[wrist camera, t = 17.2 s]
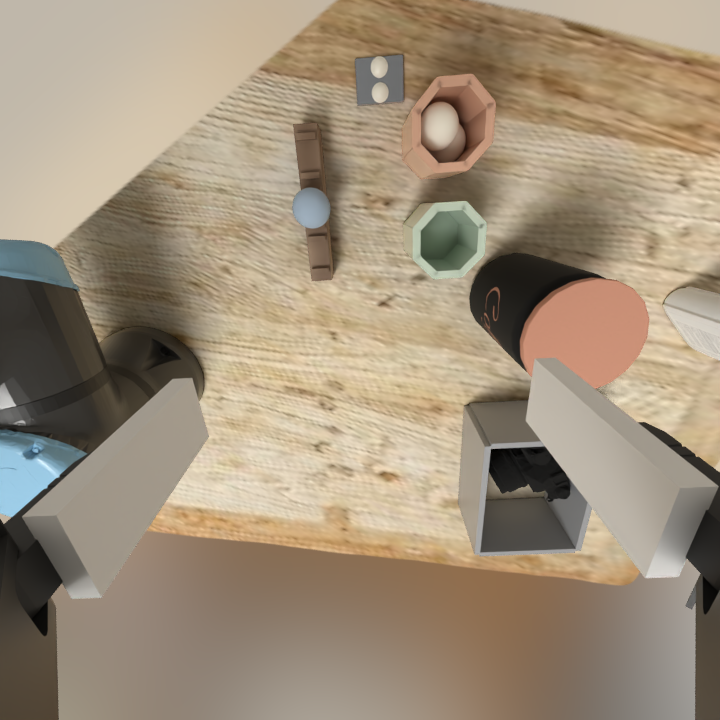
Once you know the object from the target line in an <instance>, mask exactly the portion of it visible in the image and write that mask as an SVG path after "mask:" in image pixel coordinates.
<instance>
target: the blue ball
mask: <svg viewBox="0 0 720 720" xmlns="http://www.w3.org/2000/svg"><path fill="white" fill-rule="evenodd" d="M292 208H293V214H294V216H295V218H296V220H297V221H298V222H299V223H300V224H301V225H302V226H304V227H306V228H318V227H321V226H322V225H324V224H325V223H326V221H327V220H328V218H329V215H330V203H329V200H328V198H327V196H326V195H325V194H324V193H323V192H322V191H320V190H319V189H316V188H305V189H303V190H301V191H299V192H298V193H297V195H296V196H295V198H294V200H293V206H292Z"/></svg>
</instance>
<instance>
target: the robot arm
mask: <svg viewBox="0 0 720 720" xmlns="http://www.w3.org/2000/svg"><path fill="white" fill-rule="evenodd" d="M78 291H80V290H79V287H78V286H77V285H75V284H74V283H73V280H72V278H71V276H70V274H69V272H68V270H67V268H66V266H65V263H64V261H63V259H62V257H61V256H60V254H59V253H58V252H57V251H56V250H54V249H53V248H51V247H50V246H48V245H45V244H42V243H39V242H34V241H22V240H1V239H0V513H1V514H3V515H6V516H9V517H12V518H11V519H10V520H8V521H7V522H6V523H5V524H3V523H2V521H1V519H0V720H58V719H59V718H58V677H57V634H56V607H55V604H54V602H53V600H52V599H51V596H52V595H53V593H54V592H55V591H56V590H57V588H58V587H59V586H60V584H61V583H62V584H63V585H64V587H65V589H66V590H67V592H68V593H69V595H70V597H71V599H77V598H78V599H79V598H102V597H103V595H104V593H105V592H106V591H107V589H108V588H109V586H110V584H111V583H112V582H113V580H114V578H115V577H116V576H117V574H118V572H119V571H120V569H121V568H122V566H123V565H124V563H125V562H126V560H127V559H128V557H129V556H130V554H131V553H132V551H133V550H134V548H135V547H136V545H137V544H138V542H139V541H140V539H141V538H142V536H143V535H144V533H145V532H146V530H147V529H148V527H149V526H150V524H151V523H152V521H153V520H154V518H155V517H156V515H157V514H158V512H159V511H160V509H161V508H162V506H163V505H164V503H165V502H166V500H167V499H168V497H169V496H170V494H171V493H172V491H173V490H174V488H175V487H176V485H177V484H178V482H179V481H180V479H181V478H182V476H183V475H184V473H185V472H186V470H187V469H188V467H189V466H190V464H191V463H192V461H193V460H194V458H195V457H196V455H197V454H198V452H199V451H200V449H201V448H202V446H203V445H204V443H205V442H206V440H207V439H208V437H209V435H208V432H207V428H206V425H205V421H204V418H203V414H202V411H201V407H200V404H199V401H200V399H201V396H202V394H203V389H204V378H203V373H202V370H201V367H200V365H199V363H198V361H197V359H196V358H195V356H194V355H193V354H192V352H191V351H190V350H189V349H188V348H187V347H186V346H185V345H184V344H183V343H182V342H180V341H179V340H178V339H176V338H175V337H173V336H171V335H169V334H167V333H165V332H163V331H160V330H157V329H153V328H148V327H131V328H126V329H123V330H120V331H118V332H116V333H114V334H112V335H110V336H108V337H107V338H105V339H104V340H102V341H101V342H100V343H98V340H97V338H96V335H95V333H94V330H93V328H92V325H91V323H90V320H89V318H88V315H87V313H86V310H85V308H84V306H83V303H82V301H81V298H80V296H79V293H78ZM526 422H527V423H528V424H529V426H530V427H531V428H532V430H533V431H534V432H535V434H536V435H537V436H538V438H539V439H540V440H541V442H542V443H543V444H544V446H545V447H546V448H547V449H548V451H549V452H550V453H551V455H552V456H553V457H554V459H555V460H556V461H557V463H558V464H559V465H560V467H561V468H562V469H563V471H564V472H565V473H566V475H567V476H568V477H569V478H570V480H571V481H572V482H573V484H574V485H575V486H576V488H577V489H578V490H579V492H580V493H581V494H582V496H583V497H584V498H585V500H586V501H587V502H588V503H589V505H590V506H591V507H592V509H593V510H594V511H595V513H596V514H597V515H598V517H599V518H600V519H601V521H602V522H603V523H604V525H605V526H606V527H607V529H608V530H609V531H610V532H611V534H612V535H613V536H614V538H615V539H616V540H617V542H618V543H619V544H620V546H621V547H622V548H623V550H624V551H625V552H626V554H627V555H628V556H629V558H630V559H631V560H632V561H633V563H634V564H635V565H636V567H637V568H638V569H639V571H640V572H641V573H642V575H643V576H644V577H645V578H662V577H679V574H680V572H681V570H682V568H683V566H684V563H685V561H686V559H688V560H689V561H690V562H691V563H692V564H693V565H694V567H695V568H696V569H697V570H698V571H699V572H700V573H701V574H700V576H699V578H698V580H697V582H696V584H695V587H694V589H693V591H692V593H691V595H690V597H689V599H688V601H687V604H686V607H688V608H691V609H692V608H693V606H694V604H695V603H696V677H695V678H696V679H695V683H696V684H695V685H696V687H695V689H696V690H695V695H696V696H695V704H696V705H695V720H720V472H718V471H716V469H714V468H713V467H711V466H710V465H709V464H707V463H706V462H705V461H703V460H702V459H701V458H699V457H696V456H695V454H694V453H693V452H691V451H690V450H689V449H687V448H686V447H682V444H681V443H679V442H678V441H677V440H675V439H674V438H673V437H671V436H670V435H669V434H667V433H666V432H664V431H662V430H660V429H658V428H656V427H654V426H652V425H649V424H647V423H645V422H639V423H638V422H636V421H635V420H634V419H633V418H631V417H630V416H629V415H628V414H626V413H625V412H624V411H622V410H621V409H620V408H619V407H617V406H616V405H615V404H614V403H612V402H611V401H610V400H609V399H607V398H606V397H605V396H603V395H602V394H601V393H600V392H598V391H597V390H596V389H595V388H593V387H592V386H591V385H589V384H588V383H587V382H586V381H584V380H583V379H582V378H581V377H579V376H578V375H577V374H576V373H574V372H573V371H572V370H570V369H569V368H568V367H567V366H565V365H564V364H563V363H562V362H560V361H559V360H558V359H556V358H538V359H534V366H533V373H532V380H531V387H530V394H529V401H528V407H527V414H526Z"/></svg>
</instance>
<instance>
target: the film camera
mask: <svg viewBox="0 0 720 720" xmlns="http://www.w3.org/2000/svg"><path fill="white" fill-rule="evenodd" d="M489 472H490V474H491V476H492V478H493V480H494V481H495V483H496V485H497V486H498V488H499V489H500V491H501V492H502V494H503V493H505V492H507V491H509V492H512V491H514V490H516V489H518V488H520V487H526V486H527V485H528V484H529V485H530V487H531V489H532V490H533V492H541V491H546V492H547V494H548V496H547V498H546V500H547V499H550V500H547V501H548V502H552V501H553V500H554V499H559V498H560V499H567V498H568V497H569V496H570V486H569V484H568V479H567V477H566V473H565V472H564V471H563V469H562V468H561V467H560V465H559V464H558V463H557V461H556V460H555V459H554V457H553V456H552V455H551V453H550V452H549V451H548V449H547V448H546V447H545V446H542V447H521V448H500V449H499V450H498V451H495V452H493V453H491V454H490V463H489Z"/></svg>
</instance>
